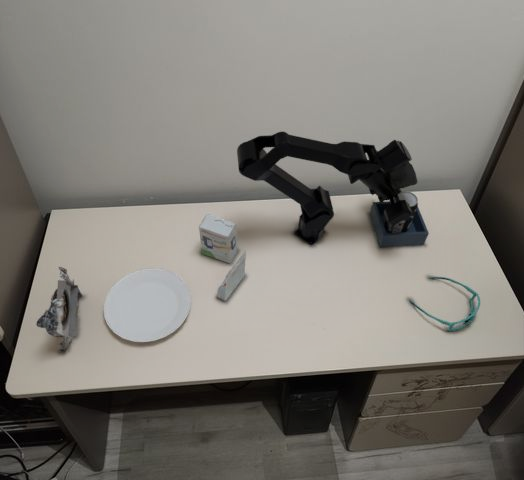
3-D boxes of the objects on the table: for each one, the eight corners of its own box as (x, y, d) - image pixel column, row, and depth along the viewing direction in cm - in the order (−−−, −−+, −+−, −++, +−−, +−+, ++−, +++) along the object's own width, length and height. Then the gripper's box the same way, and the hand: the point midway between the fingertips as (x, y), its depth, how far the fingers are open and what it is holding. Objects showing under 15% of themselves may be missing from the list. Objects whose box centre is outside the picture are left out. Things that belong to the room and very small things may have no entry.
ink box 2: (216, 298, 123) (215, 271, 114) (236, 272, 128) (236, 245, 119) (226, 303, 122) (225, 276, 113) (245, 277, 127) (246, 250, 118)
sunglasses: (458, 342, 117) (463, 331, 114) (404, 308, 125) (407, 297, 121) (484, 306, 124) (490, 294, 121) (431, 276, 131) (436, 264, 128)
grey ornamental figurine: (65, 297, 121) (50, 266, 111) (83, 297, 122) (69, 266, 111) (53, 353, 112) (35, 325, 102) (73, 352, 112) (56, 324, 102)
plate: (97, 288, 123) (95, 283, 122) (177, 263, 129) (176, 258, 127) (115, 359, 111) (113, 354, 110) (203, 328, 117) (202, 323, 116)
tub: (379, 247, 135) (383, 235, 131) (369, 213, 143) (372, 201, 139) (423, 245, 136) (428, 233, 132) (410, 211, 144) (415, 199, 140)
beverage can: (402, 217, 142) (413, 188, 133) (410, 234, 138) (423, 205, 129) (380, 220, 141) (391, 191, 132) (389, 237, 137) (400, 208, 128)
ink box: (237, 251, 133) (237, 222, 123) (229, 265, 130) (229, 236, 120) (209, 241, 134) (207, 212, 125) (200, 254, 131) (197, 226, 122)
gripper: (414, 187, 113) (444, 217, 123) (393, 136, 125) (422, 167, 135) (374, 212, 119) (405, 238, 128) (357, 160, 131) (387, 188, 140)
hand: (406, 206), depth 133 cm, fingers open, 9 cm apart
